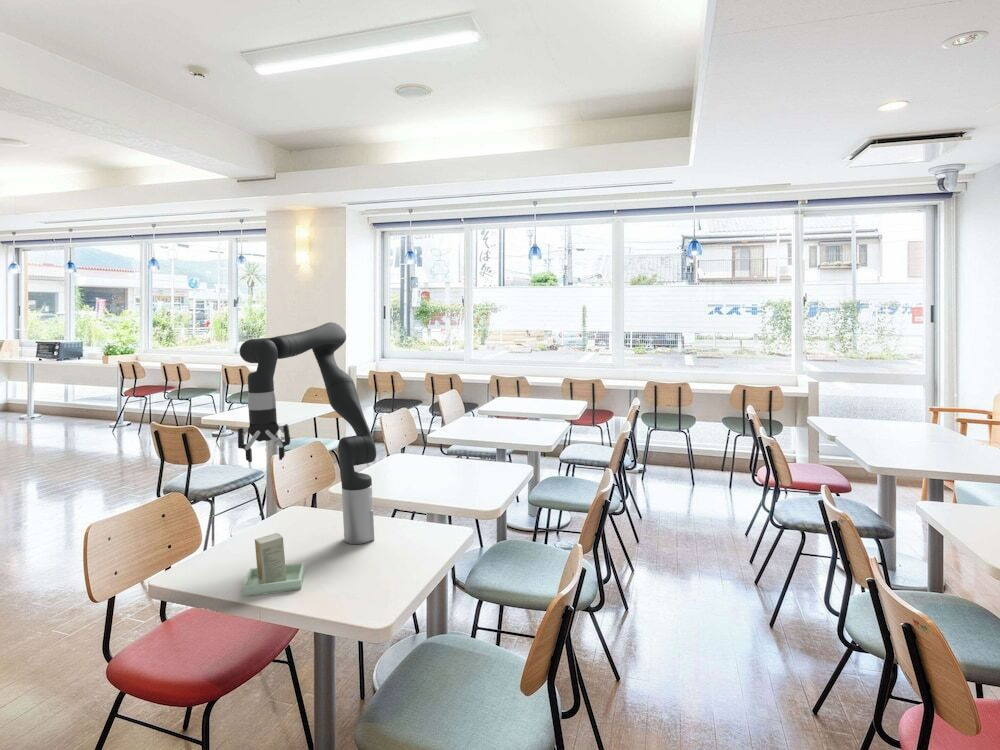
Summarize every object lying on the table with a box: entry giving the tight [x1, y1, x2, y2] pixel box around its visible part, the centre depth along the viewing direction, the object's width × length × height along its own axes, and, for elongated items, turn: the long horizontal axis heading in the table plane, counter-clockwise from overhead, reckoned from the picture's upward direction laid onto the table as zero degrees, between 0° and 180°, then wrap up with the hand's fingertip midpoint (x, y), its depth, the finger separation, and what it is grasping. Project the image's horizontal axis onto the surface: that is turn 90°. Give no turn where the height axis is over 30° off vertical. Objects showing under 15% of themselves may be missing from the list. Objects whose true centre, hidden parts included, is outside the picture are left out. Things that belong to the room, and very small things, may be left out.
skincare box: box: [254, 532, 287, 584], centre depth 150 cm, size 6×4×12 cm
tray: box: [242, 562, 305, 597], centre depth 151 cm, size 14×11×2 cm
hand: (265, 460), depth 170 cm, fingers open, 8 cm apart
